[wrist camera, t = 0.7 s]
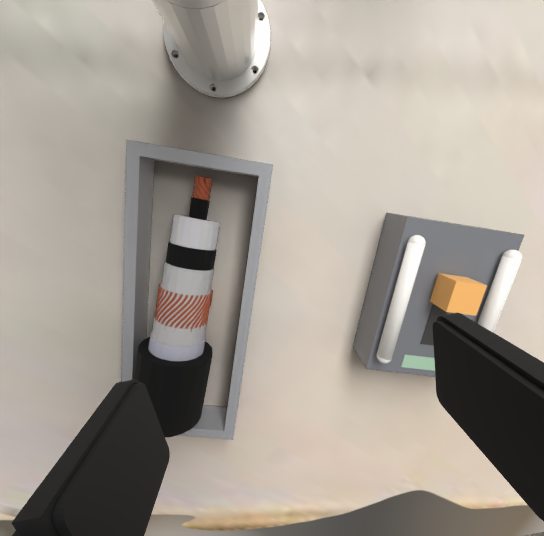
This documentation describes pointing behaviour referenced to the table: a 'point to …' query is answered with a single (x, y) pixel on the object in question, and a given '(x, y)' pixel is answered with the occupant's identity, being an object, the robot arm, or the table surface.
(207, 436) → the grey tray
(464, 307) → the block
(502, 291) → the cord
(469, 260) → the grey slider switch panel
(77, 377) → the table surface
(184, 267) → the cable
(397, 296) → the cord
